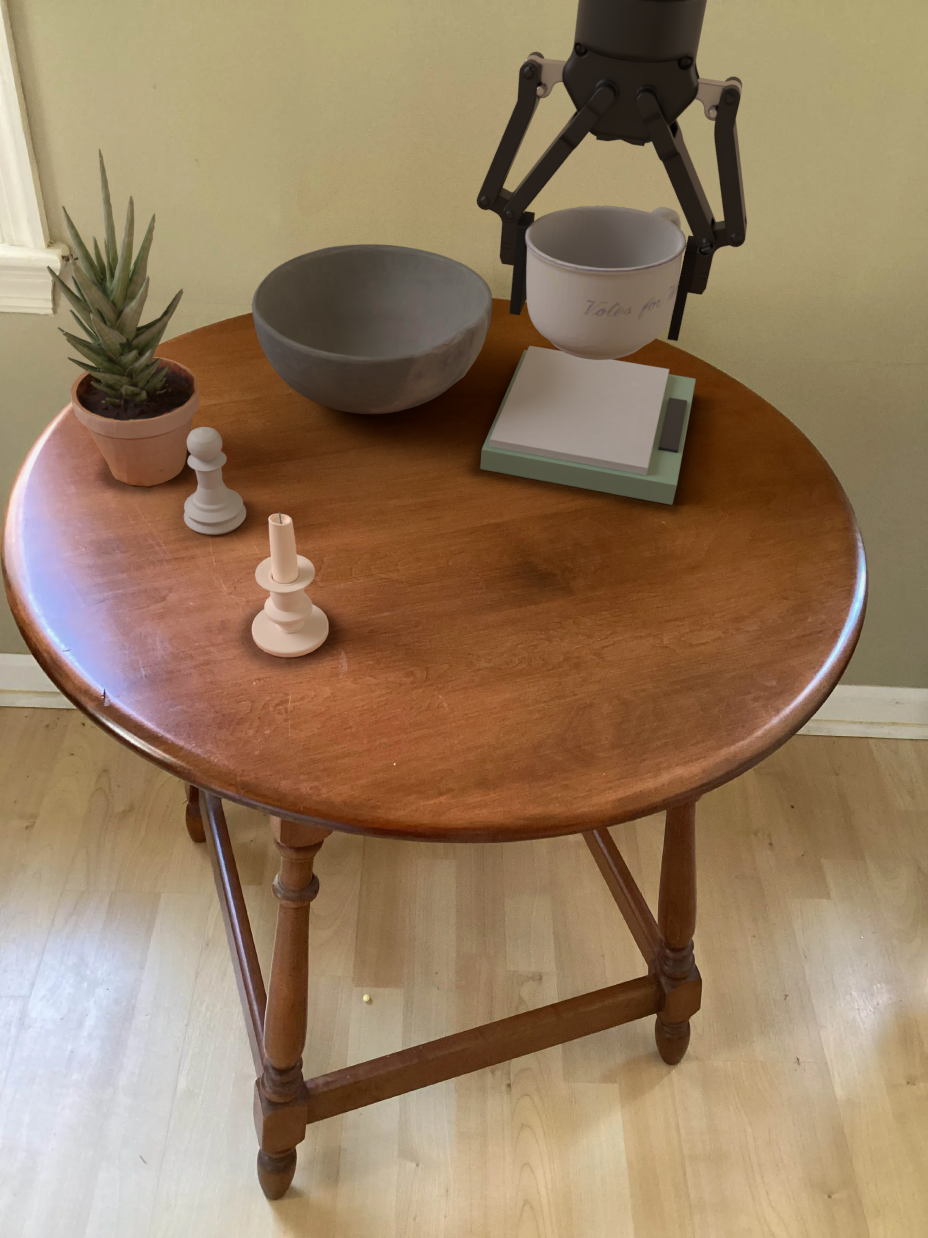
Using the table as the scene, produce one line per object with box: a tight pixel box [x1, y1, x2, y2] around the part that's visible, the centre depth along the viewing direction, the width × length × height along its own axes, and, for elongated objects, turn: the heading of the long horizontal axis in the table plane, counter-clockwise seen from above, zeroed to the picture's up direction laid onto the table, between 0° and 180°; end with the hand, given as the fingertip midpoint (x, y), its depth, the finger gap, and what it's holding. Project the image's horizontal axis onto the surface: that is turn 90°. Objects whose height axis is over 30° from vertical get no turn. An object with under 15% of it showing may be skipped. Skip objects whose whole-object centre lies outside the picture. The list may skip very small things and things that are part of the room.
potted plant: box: [46, 148, 200, 487], centre depth 77 cm, size 10×10×25 cm
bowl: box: [251, 243, 493, 415], centre depth 91 cm, size 20×20×10 cm
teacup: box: [525, 204, 687, 360], centre depth 74 cm, size 14×11×8 cm
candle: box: [251, 511, 329, 658], centre depth 68 cm, size 5×5×10 cm
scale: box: [480, 345, 697, 506], centre depth 91 cm, size 16×17×3 cm
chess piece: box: [183, 426, 247, 536], centre depth 78 cm, size 5×5×8 cm
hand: (595, 318), depth 76 cm, fingers closed on teacup, 11 cm apart
